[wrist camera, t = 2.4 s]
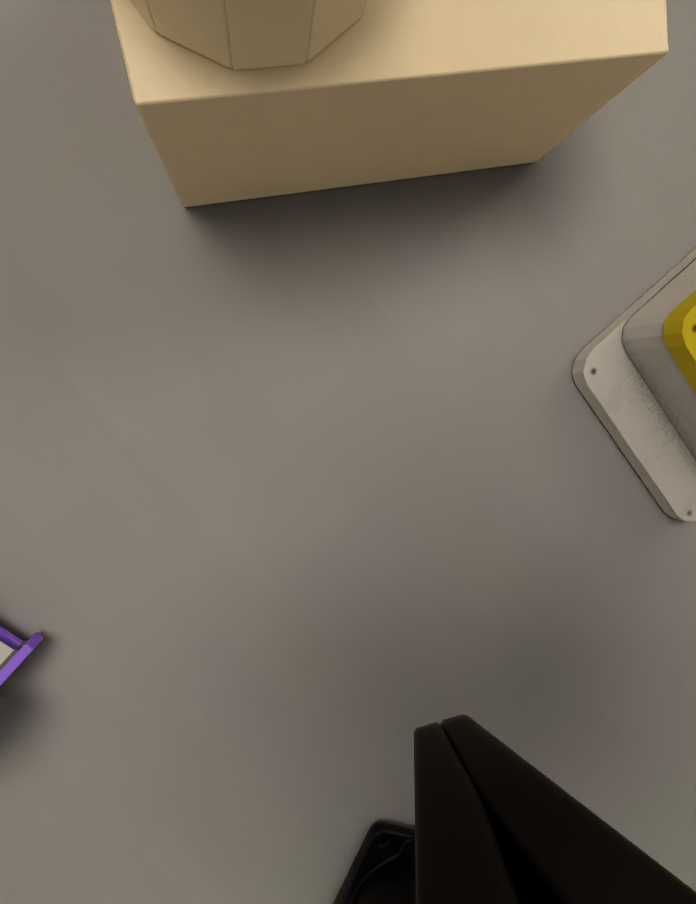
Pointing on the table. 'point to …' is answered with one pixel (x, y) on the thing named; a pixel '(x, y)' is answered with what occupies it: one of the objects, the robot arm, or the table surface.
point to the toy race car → (13, 653)
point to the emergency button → (651, 387)
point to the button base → (370, 85)
